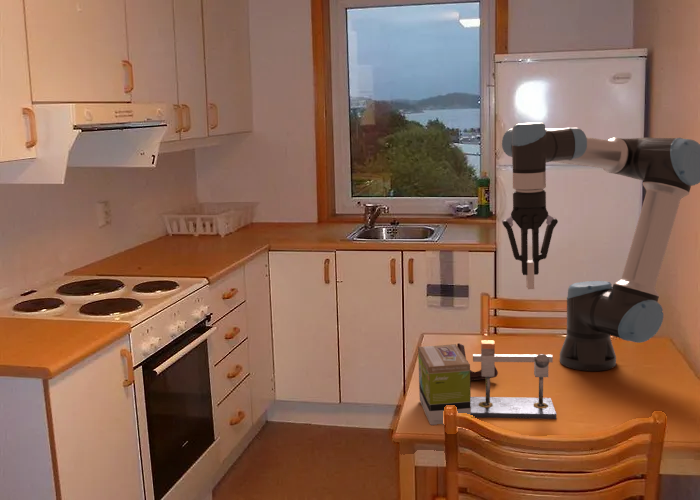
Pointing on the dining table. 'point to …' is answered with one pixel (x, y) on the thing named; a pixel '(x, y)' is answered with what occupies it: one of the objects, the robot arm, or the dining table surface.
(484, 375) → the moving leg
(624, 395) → the dining table surface
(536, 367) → the beam
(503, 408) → the board
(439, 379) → the tea box
